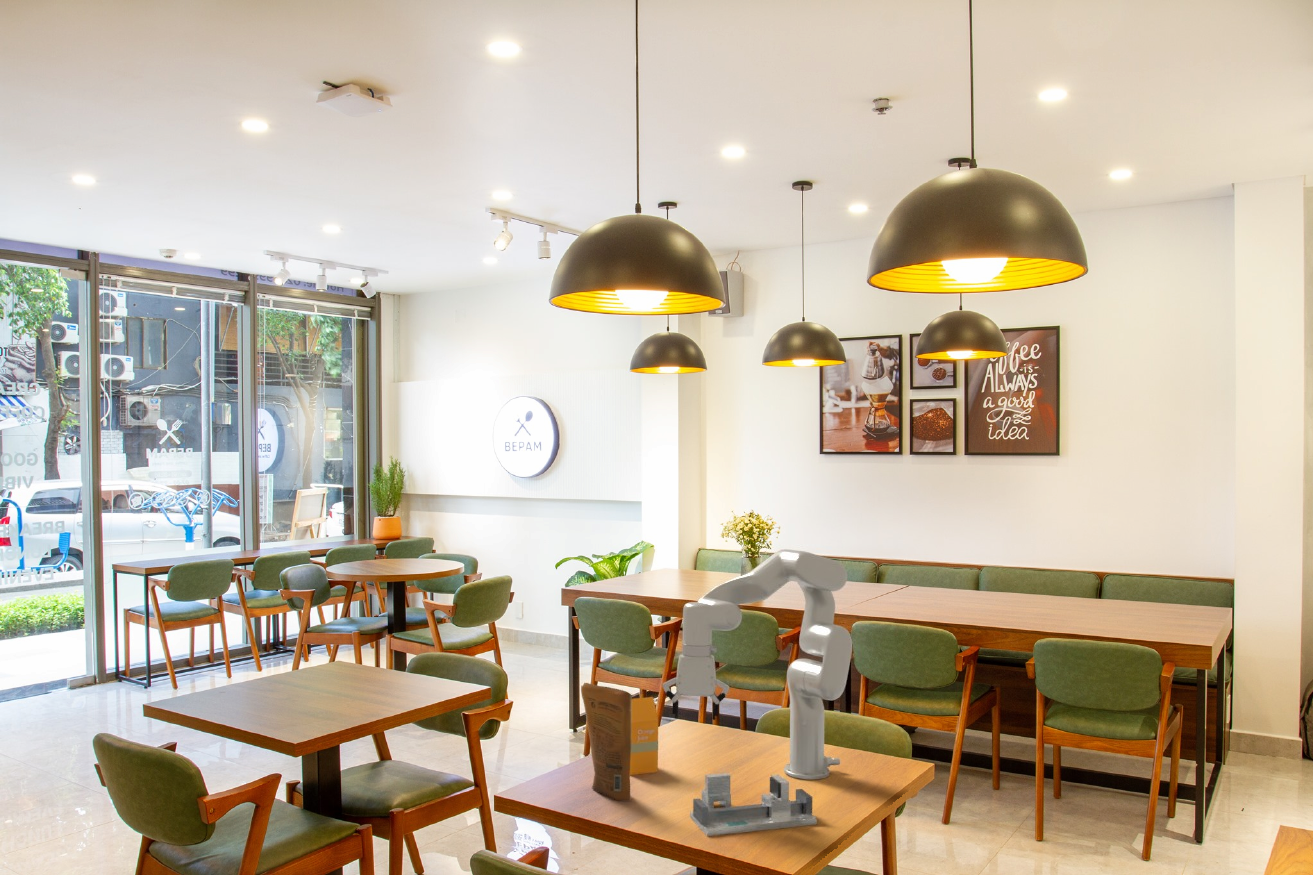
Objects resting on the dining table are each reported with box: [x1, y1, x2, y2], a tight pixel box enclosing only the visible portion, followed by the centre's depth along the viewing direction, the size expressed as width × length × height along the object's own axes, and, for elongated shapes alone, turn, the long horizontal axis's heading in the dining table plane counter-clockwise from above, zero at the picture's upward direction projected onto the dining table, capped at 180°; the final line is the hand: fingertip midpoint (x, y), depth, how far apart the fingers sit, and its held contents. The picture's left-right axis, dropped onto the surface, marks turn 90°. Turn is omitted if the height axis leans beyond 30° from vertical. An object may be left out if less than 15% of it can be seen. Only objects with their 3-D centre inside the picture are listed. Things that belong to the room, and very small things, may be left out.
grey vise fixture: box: [689, 774, 818, 837], centre depth 227 cm, size 29×12×10 cm, turn 107°
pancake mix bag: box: [580, 682, 633, 802], centre depth 245 cm, size 7×19×28 cm, turn 39°
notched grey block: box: [701, 772, 732, 809], centre depth 237 cm, size 5×6×8 cm
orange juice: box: [630, 696, 659, 776], centre depth 265 cm, size 8×9×20 cm
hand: (695, 717), depth 242 cm, fingers open, 9 cm apart
